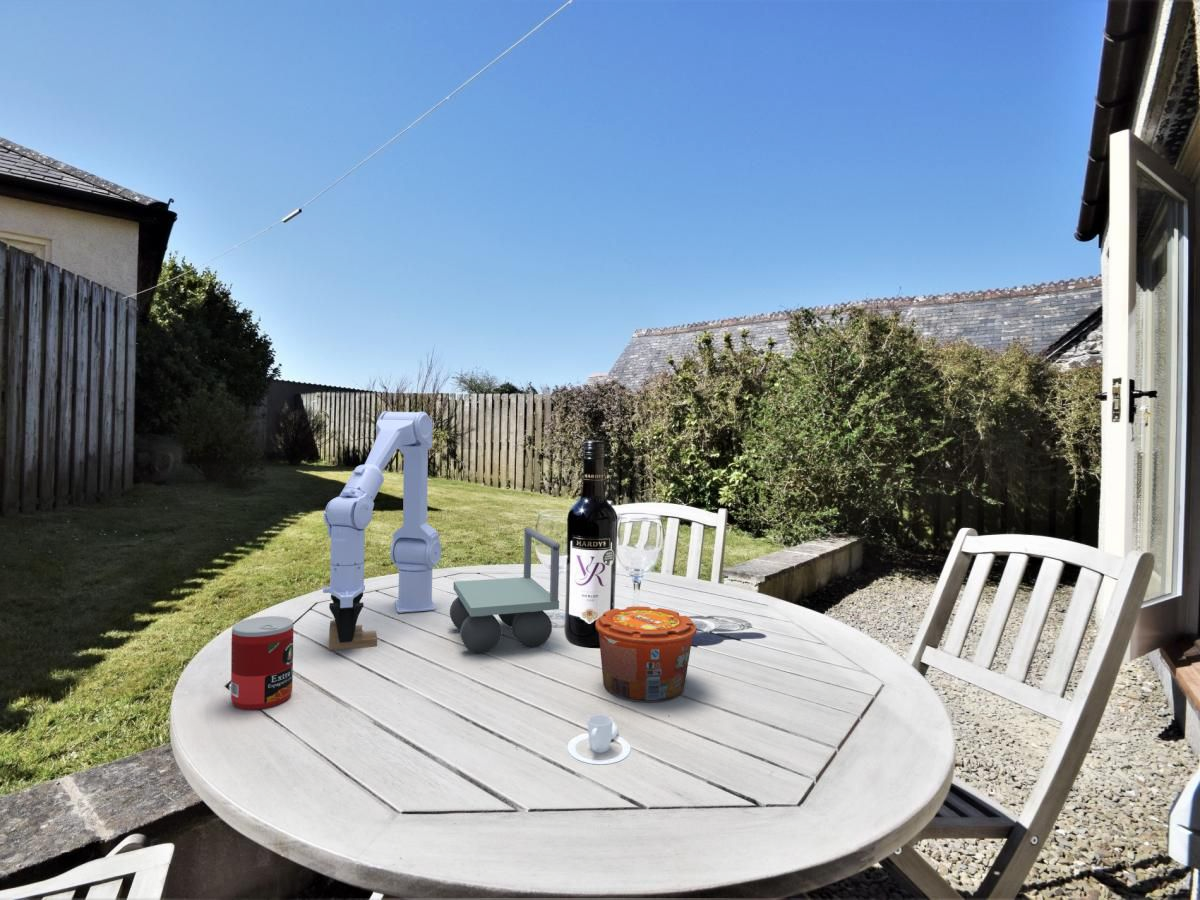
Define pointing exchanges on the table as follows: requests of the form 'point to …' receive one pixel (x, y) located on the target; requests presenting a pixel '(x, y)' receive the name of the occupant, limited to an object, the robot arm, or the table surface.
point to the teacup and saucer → (600, 740)
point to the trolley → (507, 604)
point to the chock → (358, 640)
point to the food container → (645, 652)
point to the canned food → (261, 662)
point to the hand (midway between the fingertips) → (346, 636)
